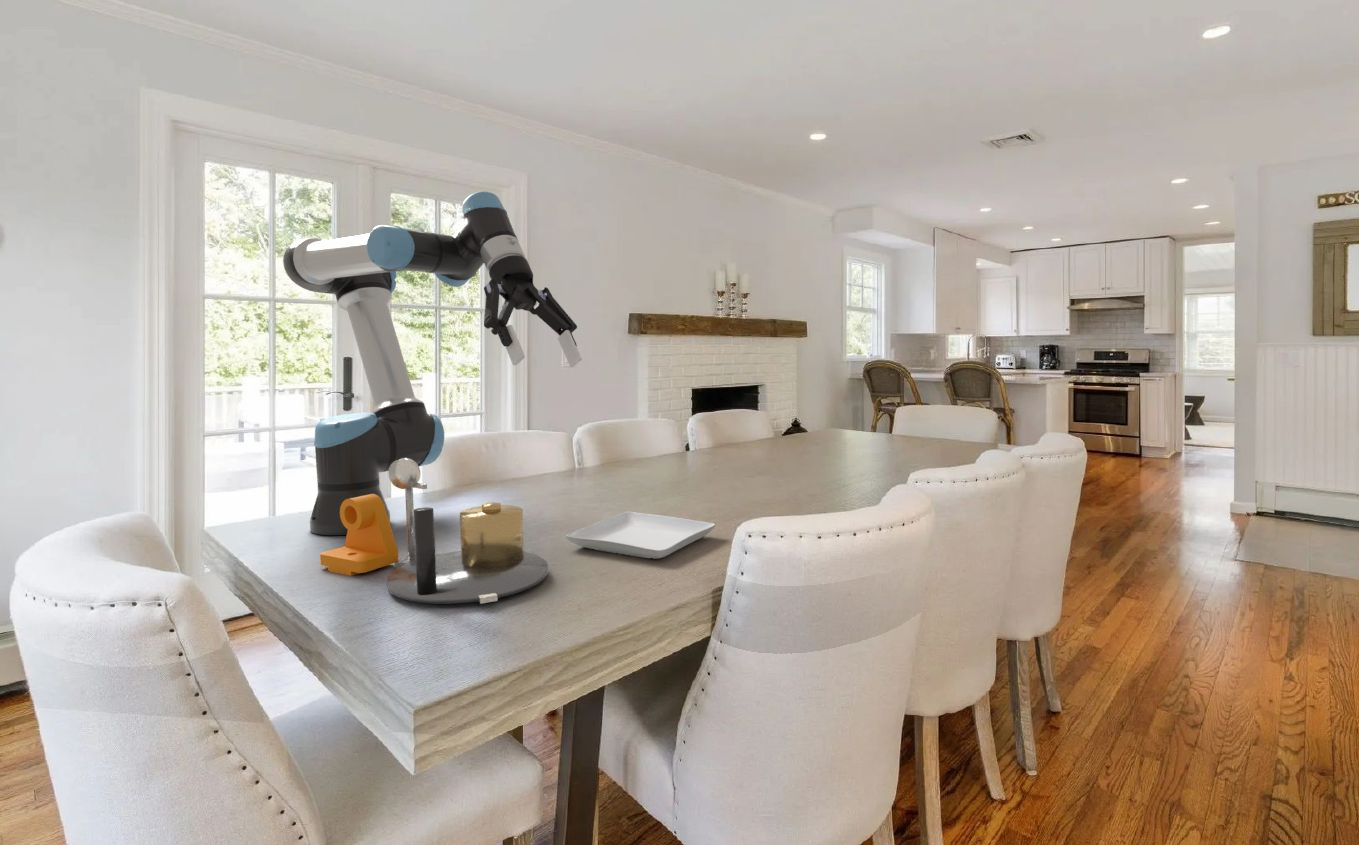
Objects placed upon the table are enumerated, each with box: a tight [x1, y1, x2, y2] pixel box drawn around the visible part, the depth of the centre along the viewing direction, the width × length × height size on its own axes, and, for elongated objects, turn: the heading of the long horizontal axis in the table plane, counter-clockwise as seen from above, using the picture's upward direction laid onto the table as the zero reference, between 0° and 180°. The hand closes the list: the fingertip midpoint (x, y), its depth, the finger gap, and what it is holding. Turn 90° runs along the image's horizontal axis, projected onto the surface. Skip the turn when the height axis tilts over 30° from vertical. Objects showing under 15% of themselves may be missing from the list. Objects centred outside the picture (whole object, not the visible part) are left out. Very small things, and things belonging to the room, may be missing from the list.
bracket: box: [319, 494, 400, 577], centre depth 116 cm, size 11×7×12 cm, turn 63°
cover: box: [459, 501, 525, 568], centre depth 115 cm, size 10×10×9 cm
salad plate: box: [565, 511, 716, 560], centre depth 131 cm, size 21×21×3 cm
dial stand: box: [387, 458, 428, 570], centre depth 116 cm, size 7×4×18 cm, turn 83°
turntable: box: [386, 506, 549, 605], centre depth 108 cm, size 24×24×13 cm
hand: (549, 362), depth 124 cm, fingers open, 13 cm apart
